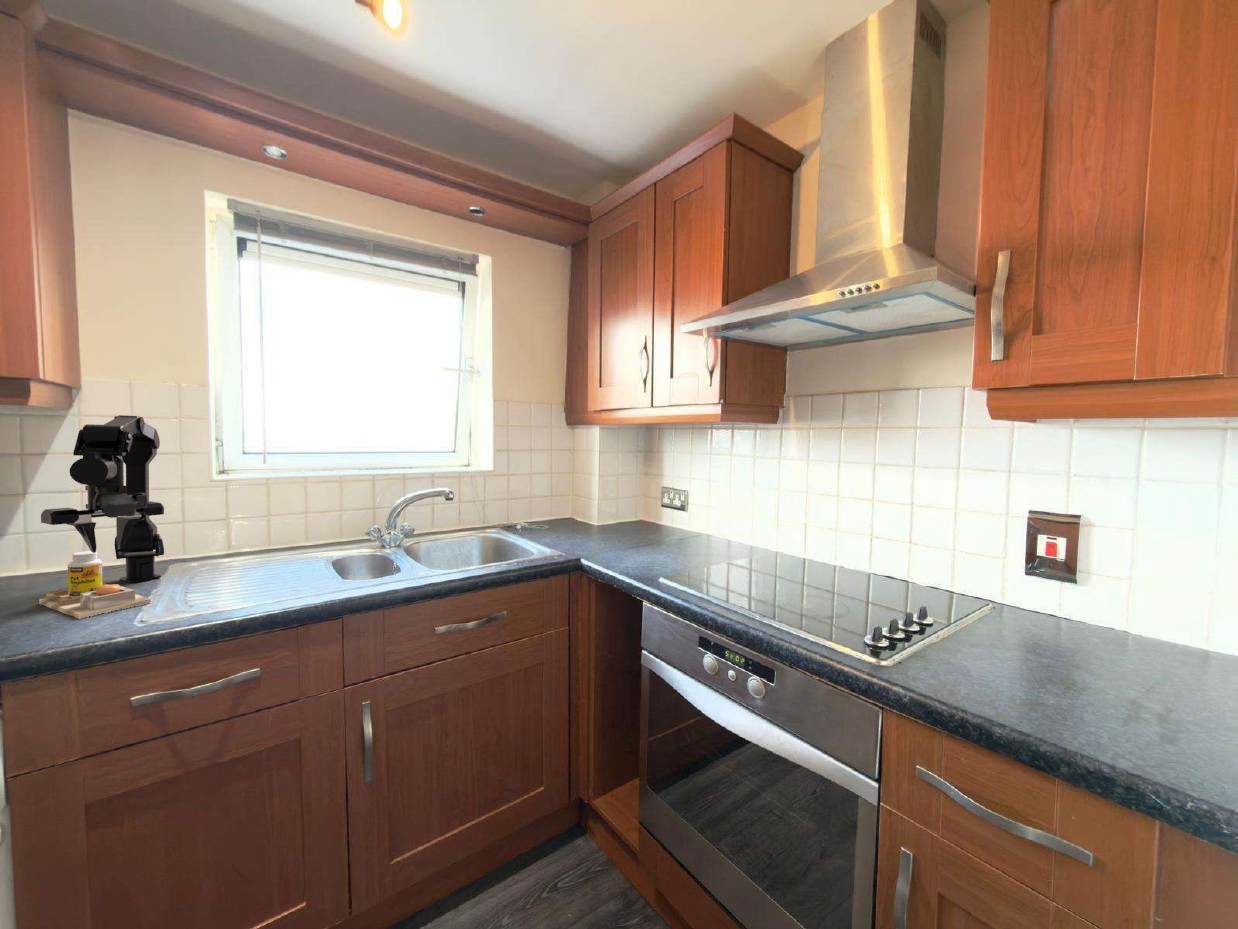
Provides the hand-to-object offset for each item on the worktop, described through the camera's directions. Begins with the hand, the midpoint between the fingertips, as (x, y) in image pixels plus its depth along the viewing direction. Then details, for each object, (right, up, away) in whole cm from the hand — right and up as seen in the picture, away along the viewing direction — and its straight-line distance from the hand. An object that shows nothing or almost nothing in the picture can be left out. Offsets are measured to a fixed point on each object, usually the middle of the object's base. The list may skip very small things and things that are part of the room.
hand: (107, 550), depth 114 cm
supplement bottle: (-10, -12, +5) cm, 16 cm away
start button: (0, -10, 0) cm, 10 cm away
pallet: (-6, -13, +3) cm, 14 cm away
